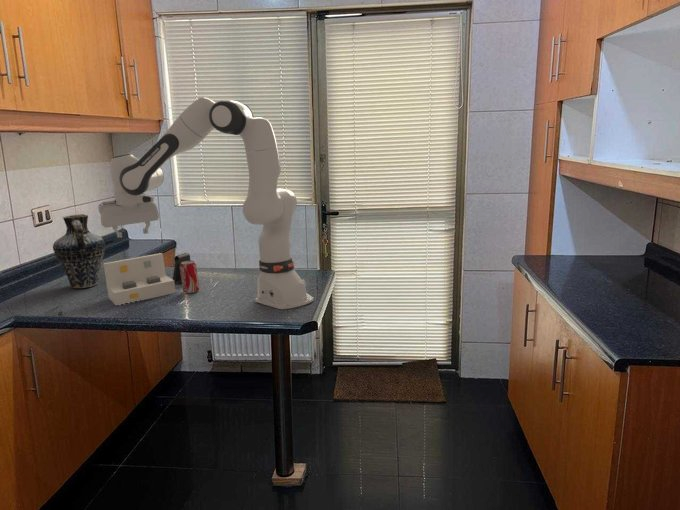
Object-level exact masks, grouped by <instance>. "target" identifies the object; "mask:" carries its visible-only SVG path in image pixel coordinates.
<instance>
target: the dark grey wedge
mask: <svg viewBox="0 0 680 510" xmlns="http://www.w3.org/2000/svg"><path fill="white" fill-rule="evenodd" d="M184 261H192V260H191V255H190V253H189V252H184V253H181V254H179V255H175V256H174V269H173V274H172V279H173V280H174V283H175V285H181V286H182V280H181V273H180V265H181V262H184ZM198 282H199V279H198Z"/></svg>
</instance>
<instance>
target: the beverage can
mask: <svg viewBox="0 0 680 510" xmlns="http://www.w3.org/2000/svg"><path fill="white" fill-rule="evenodd" d="M180 273H181V280H182V285H181V287H182V292H183V293H185V294H194V293H197V292H198V291H199V290H200V282H199V281H198V280H199V277H198V276H199V275H198V267H197V264H196V262H195V261H194V260H191V261H184V262H181V265H180Z"/></svg>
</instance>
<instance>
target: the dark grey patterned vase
mask: <svg viewBox="0 0 680 510" xmlns="http://www.w3.org/2000/svg"><path fill="white" fill-rule="evenodd" d="M62 218H63V221H64V224H65V225H66V231H65V234H64V235H62V236H61V237H60V238H57V239H56V241H54V243H53V244H52V250H53V252H54V255H55V257H56V260H57V261H58V263H59V265H60V266H61V267H62V269H63V271H64V273H65V275H66V277H67V279H68V282H69V285H70V288H72V289H85V288H90V287H93V286H96V285H98V283H99V279H100V277H99V275H100V271H101V267H102V264H103V258H104V256H105V252H106V242H105V240H104V238H103V237H101V236H100V235H97V234H95V233H92V232H90V231H89V228H88V220H89V215H88V214H85V213H84V214H81V213H79V214H71V215H65V216H62Z"/></svg>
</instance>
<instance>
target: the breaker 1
mask: <svg viewBox="0 0 680 510" xmlns="http://www.w3.org/2000/svg"><path fill="white" fill-rule="evenodd" d="M122 285H123V288H124V289H129V288H133V287H137V286H136V282H134V281H129V282H124V283H122Z"/></svg>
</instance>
